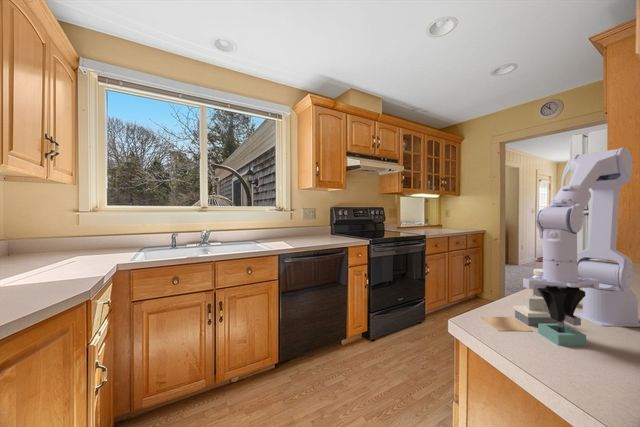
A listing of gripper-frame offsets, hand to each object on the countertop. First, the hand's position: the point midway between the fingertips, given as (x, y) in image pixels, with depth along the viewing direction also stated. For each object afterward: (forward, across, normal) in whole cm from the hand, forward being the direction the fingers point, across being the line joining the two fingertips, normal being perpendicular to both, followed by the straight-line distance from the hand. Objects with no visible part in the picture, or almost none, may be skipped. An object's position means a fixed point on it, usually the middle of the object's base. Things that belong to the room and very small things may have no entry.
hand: (560, 319), depth 58 cm
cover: (+2, +1, +9) cm, 9 cm away
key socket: (+5, 0, 0) cm, 5 cm away
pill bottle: (+5, +14, +24) cm, 29 cm away
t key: (+4, 0, 0) cm, 4 cm away
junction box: (+5, +1, +9) cm, 10 cm away
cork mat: (+5, -8, +8) cm, 12 cm away
